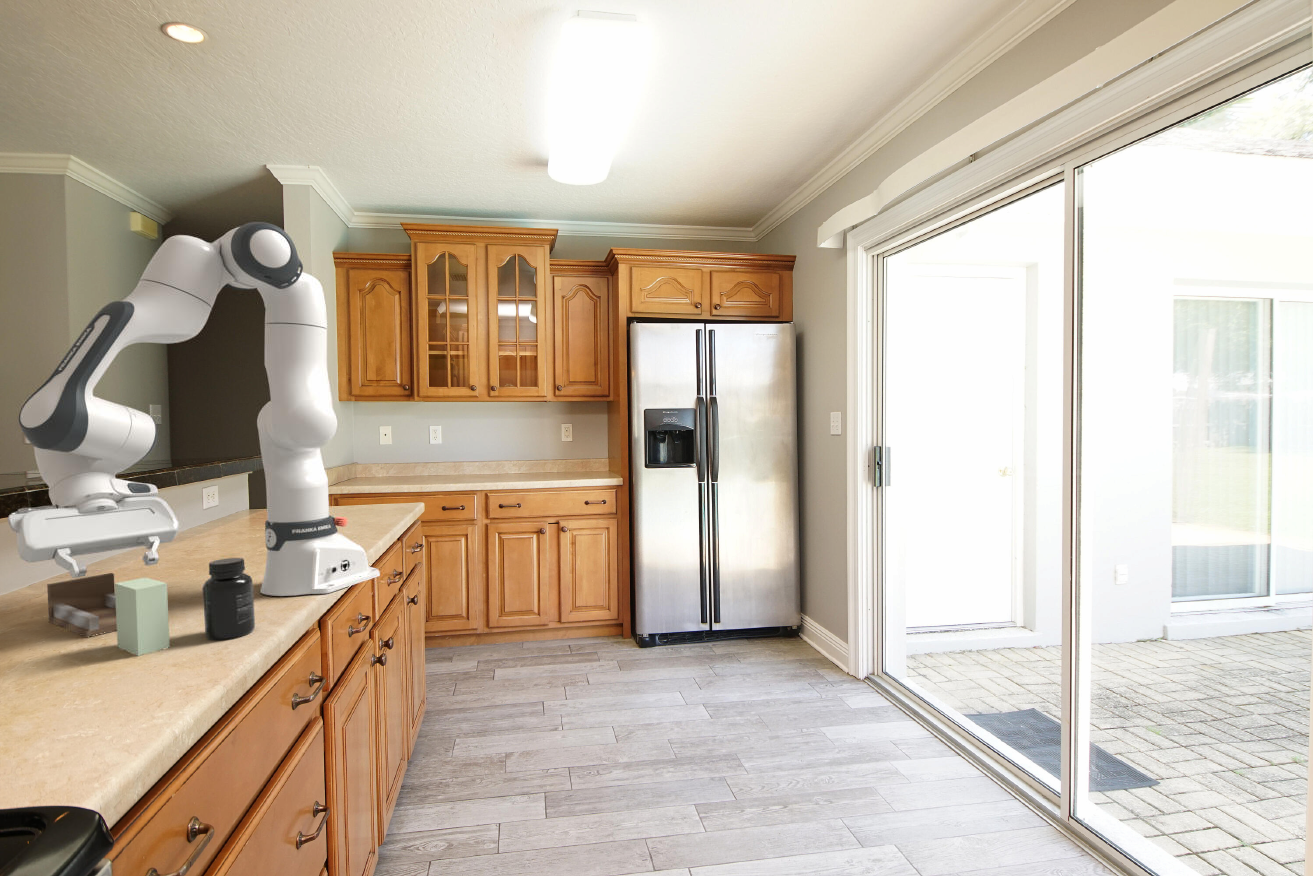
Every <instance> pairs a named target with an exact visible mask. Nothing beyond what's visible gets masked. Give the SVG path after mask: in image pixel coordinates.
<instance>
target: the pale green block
mask: <svg viewBox="0 0 1313 876" xmlns="http://www.w3.org/2000/svg"><path fill="white" fill-rule="evenodd" d="M114 587H115V598H116V621H117V631H116V639H117V641H116V642H117V648H118V647H119V648H118V649H120V648H121V649H120V650H122V649H124V650H127V651H129V652H131V653H130V654H132V653H134V654H136V655H135V656H137V655H138V656H137V657H141V656H140V655H142V654H145V655H147V654H146V653H149V654H151V653H150V652H152V653H154V652H153V651H156V650H160V649H163V650H165V649H164V648H167V647H169V648H170V633H169V632H170V628H169V606H168V604H169V603H168V583H167V582H163V581H160V580H157V579H152V578H148V577H141V578H136V579H135V578H134V579H132V580H126V581H120V582H114ZM167 649H168V648H167ZM124 650H123V651H124ZM127 651H126V652H127ZM160 651H161V650H160ZM129 652H128V653H129ZM156 652H157V651H156ZM134 654H133V655H134ZM142 656H143V655H142Z"/></svg>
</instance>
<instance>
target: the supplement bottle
mask: <svg viewBox="0 0 1313 876" xmlns="http://www.w3.org/2000/svg"><path fill="white" fill-rule="evenodd" d="M208 570H209V571H208V575H210V578H208V579H207V580H206V581H205V582H204V583H203V584H202V597H203V598H202V599H203V600H202V602H203V615H204V616H203V618H204V620H203V621H204V631H205V634H204V635H205V636H206V638H208V639H209V640H212V641H224V640H231V639H232V640H233V639H235V638H236V639H237V638H239V637H243V636H246V635H249V634H250V633H252V632H253V631H254V629H255V628H256V625H255V622H256V620H255V619H256V616H255V601H254V599H255V598H254V586H253V585H254V584H253V579H252V577H251V575H249V574H247V573H245V572H244V571H245V570H246V567H245V559H244V558H243V557H229V558H222V559H221V558H220V559H215V560H213V561H211V562H209V563H208Z"/></svg>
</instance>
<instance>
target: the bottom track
mask: <svg viewBox="0 0 1313 876" xmlns="http://www.w3.org/2000/svg"><path fill="white" fill-rule="evenodd" d="M46 588H47V590H46V591H47V607H48V611H47V612H48V622H49V623H51V622H52V624H54V625H56V626H58V625H60V626H59V627H61V626H62V627H61V628H63V627H65V628H64V629H66V628H67V629H66V630H68V629H70V630H72V631H71V632H73V631H74V632H73V633H75V632H77V633H76V634H78V633H79V634H78V635H80V634H82V635H81V636H83V635H84V636H83V637H85V636H87V637H88V636H93V635H96V634H100V633H104V632H109V633H111V632H110V631H113V632H115V631H114V630H117V621H116V598H115V574H114V573H113V572H109V573H104V574H98V575H93V576H87V577H86V576H85V577H79V578H74V579H70V580H66V581H65V580H63V581H59V582H54V583H47V584H46ZM70 630H69V631H70ZM87 637H86V638H87ZM93 637H94V636H93Z"/></svg>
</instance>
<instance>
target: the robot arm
mask: <svg viewBox="0 0 1313 876" xmlns="http://www.w3.org/2000/svg"><path fill="white" fill-rule="evenodd" d="M299 268H300V270H299ZM303 270H304V267H303V262H302V261H301V259H300V257H299V255H298V251H297V249H296V246H295V243H294V241H293V240H292V238H291V237H290V235H289V234H288V233H287V232H286V231H285V230H284V229H282V228H281V227H280V226H278V225H275V224H272V223H269V222H265V221H253V222H247V223H245V224H243V225H241V226H237V227H235V228H233V229H231V230H229V231H228V232H227V231H226V233H225V234H224V235H222V236H220V237H219V238H217V239H215V240H214V241H212V242H207V241H205V240H203V239H202V238H198V237H196V236H195V237H194V236H191V235H187V234H186V235H184V234H176V235H173V236H170V237H169V238H167V239H166V240H165V241H164V242H163V243H162V244H161V245H160V246H159V248H158V249H157V251H156V252H155V253H154V255H153V256H152V257H151V259H150V261H149V263H148V264H147V266H146V268H145V269H144V271H143V274H142V275H141V278H140V279H139V281H138V284H137V285H136V287H135V288H134V290H133V291H132V292H131V293H130V294H129V295H127V297H125V298H124V299H122V300H119V301H117V300H115V301H112V302H109V303H107V304H106V305H105V306H103V307H102V308H100V310H99V311H98V312H97V313H96V314H95V315H94V317H93V318H92V319H91V320H90V321H89V323H88V324H87V325H86V326H85V328H84V330H82V332H81V333H80V335H79V336H78V338H76V340H75V342H74V343H73V344H72V346H71V347H70V348H69V349H68V351H67V353H66V354H65V355H64V357H63V358H62V359H61V361H60V362H59V364H58V365H56V367H55V369H54V370H53V371H52V373H51V375H50V376H49V377H48V378H47V379H46V381H44V383H43V384H41V386H40V387H39V388H37V389H36V391H34V392H33V393H32V394H31V395H30V396H28V397H29V398H27V400H25V402H24V403H23V405H22V406H21V409H20V411H19V413H18V424H19V426H20V429H21V431H22V433H23V435H24V437H25V438H26V439H27V441H29V443H30V444H31V445H32V446H34V447H33V451H34V457H35V461H36V465H37V466H36V467H37V468H38V471H39V474H40V477H41V479H42V481H44V483H45V485H47V486H48V497H49V499H50V502H51V504H52V505H43V506H38V507H37V506H36V507H22V508H18V509H17V511H14V512H11V513H10V514H9V515H8V517H7V522H8V526H9V528H10V530H11V531H12V532H14V533H16V546H17V551H18V555H19V558H20V559H21V560H23V561H25V562H27V563H37V562H44V561H50V560H51V561H52V560H54V562H55V564H56V565H57V566H59V567H62V568H63V569H65V570H67V571H68V572H69V574H70V577H71V579H78V578H83V577H86V574H87V571H88V570H87V566H86V563H85V561H83V560H82V561H78V562H77V561H76V560H75V559H74V558H72V557H77V556H84V555H90V554H91V555H92V554H98V553H99V554H100V553H104V552H112V551H117V550H123V549H133V548H138V547H145V549H146V550H147V551H145V552H144V555H143V556H142V561H143V563H144V566H146V567H147V566H153V565H157V564H158V562H159V560H160V557H159V555H158V552H157V551H158V550H157V549H158V547H159V545H160V544H166V543H171V542H173V540H174V539H175V538H176V537H177V535H178V533H179V530H180V522H179V520H178V518H177V516H176V514H175V512H174V511H173V509H172V507H171V506H170V505H169V504H168V503H167V501H166V500H165V499H163V498H161V497H158V493H159V490H158V487H157V485H154V484H152V483H145V482H144V483H143V482H136V481H129V480H124V479H121V478H116V476H117V475H118V474H120V473H123V472H126V471H127V470H129V469H130V468H132V467H135V465H136V464H138V463H140V462H142V461H143V460H145V459H146V458H147V457H148V456H149V455H151V453H152V452H153V451H154V450H155V448H156V447H157V443H158V434H159V432H158V427H157V424H156V422H155V420H154V419H153V417H152V416H151V415H150V414H149V413H146V412H144V411H142V410H141V411H140V410H138V409H135V408H133V407H129V406H126V405H123V404H121V403H120V404H119V403H116V402H112V401H109V400H106V399H103V398H100V397H98V396H94V388H95V387H96V386H97V384H98V383H99V381H101V378H102V377H103V375H104V374H105V373H106V371H107V369H108V368H109V366H110V365H111V364H112V362H113V361H114V359H115V358H116V357H117V355H118V354H119V353H120V351H122V350H123V349H124V348H126V347H127V346H131V345H134V344H139V343H152V344H153V343H154V344H175V343H176V344H178V343H182V342H186V341H188V340H191V339H193V338H194V337H196V336H197V335H198V334H199V333H200V332H201V331H203V328H204V326H205V325H206V324H207V322H208V319H209V316H210V313H211V312H212V310H213V309H212V308H213V307H214V304H215V302H216V299H217V297H218V294H219V293H220V292H221V290H222V289H223V288H226V289H232V290H237V291H250V290H254V289H256V290H257V291H258V292H259V295H260V296H261V298H262V300H263V303H264V304H263V305H264V308H265V313H264V314H265V315H264V367H265V369H266V374H267V379H268V381H267V382H268V386H269V397H270V400H269V401H268V402H267V403H266V404H265V405H264V406H263V407H262V408H261V409H260V411H259V413H258V416H257V420H256V425H257V430H258V439H259V448H260V454H261V460H262V465H263V470H264V478H265V488H266V514H267V516H266V517H267V519H266V521H265V522H264V523H265V524H264V534H265V535H264V536H265V537H264V538H265V539H264V540H265V545H266V547H265V548H266V549H267V550H266V551H267V552H266V562H265V569H264V575H263V580H262V584H261V586H260V591H259V592H260V593H262V595H267V596H274V597H275V596H277V597H285V596H289V597H290V596H301V595H311V594H312V595H317V594H318V595H321V594H329V593H333V592H336V591H338V590H343V589H344V588H347V587H350V586H354V585H356V584H359V583H362V582H365V581H368V580H372V579H374V578H377V577H380V575H381V574H380V570H379V569H378V568H375V567H372V566H369V561H368V555H367V553H366V551H365V549H364V548H363V547H362V545H359V544H358V543H356V542H354V541H352V540H351V539H349V538H348V537H346V536H345V535H343V534H342V533H340V532H338V528H337V527H342V528H344V527H346V526H347V524H348V523H349V520H348V518H347V517H346V516H345V517H344V516H343V517H342V516H337V517H334V516H332V515H330V507H329V506H330V503H329V478H328V475H327V473H326V471H325V466H324V461H323V457H322V451H321V448H322V447H324V446H325V445H327V444H328V443H329V442H331V440H333V438H334V436H335V434H336V432H337V429H338V419H337V416H336V413H335V411H334V406H333V405H334V404H333V395H332V390H331V384H330V380H329V372H328V317H327V316H328V315H327V306H326V299H325V293H324V289H323V286H322V284H321V282H320V281H319V280H318V279H317V278H316V277H314V276H313V275H311V274H308V272H307V273H306V272H304V271H303ZM148 550H149V551H148Z"/></svg>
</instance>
